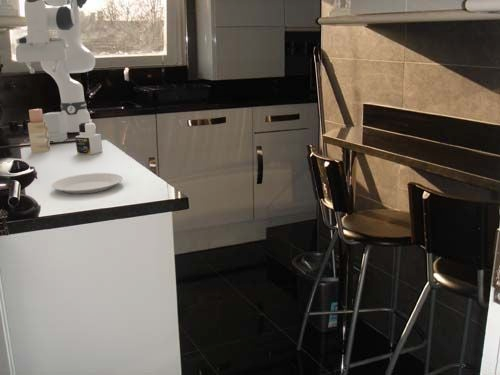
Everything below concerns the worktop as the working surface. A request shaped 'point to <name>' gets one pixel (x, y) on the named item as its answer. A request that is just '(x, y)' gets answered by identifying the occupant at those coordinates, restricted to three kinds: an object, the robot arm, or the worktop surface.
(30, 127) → the tower top
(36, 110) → the pink rounded cylinder
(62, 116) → the supplement box
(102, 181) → the plate
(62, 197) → the worktop surface
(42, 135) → the tower mid
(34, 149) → the tower base
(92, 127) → the medicine bottle
